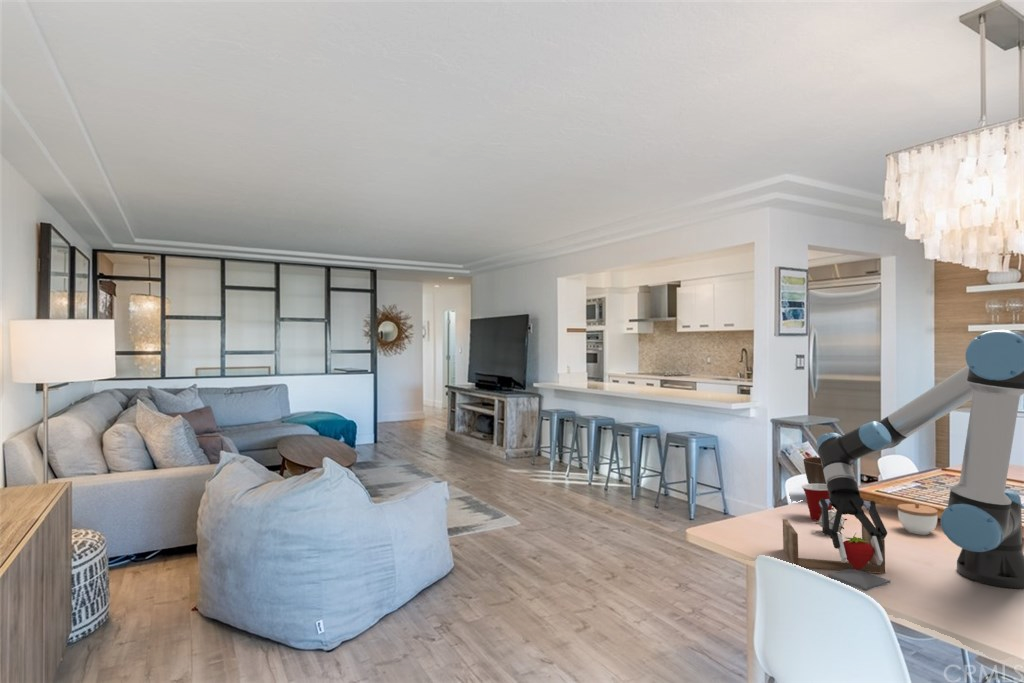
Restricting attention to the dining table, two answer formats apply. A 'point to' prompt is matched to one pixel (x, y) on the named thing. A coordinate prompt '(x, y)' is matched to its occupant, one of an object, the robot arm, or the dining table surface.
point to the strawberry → (858, 552)
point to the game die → (832, 520)
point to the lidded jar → (917, 518)
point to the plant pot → (814, 470)
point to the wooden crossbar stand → (792, 552)
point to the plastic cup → (816, 498)
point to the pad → (859, 578)
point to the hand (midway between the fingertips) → (862, 561)
